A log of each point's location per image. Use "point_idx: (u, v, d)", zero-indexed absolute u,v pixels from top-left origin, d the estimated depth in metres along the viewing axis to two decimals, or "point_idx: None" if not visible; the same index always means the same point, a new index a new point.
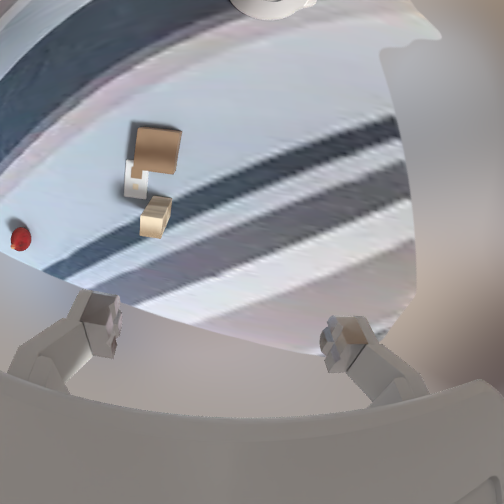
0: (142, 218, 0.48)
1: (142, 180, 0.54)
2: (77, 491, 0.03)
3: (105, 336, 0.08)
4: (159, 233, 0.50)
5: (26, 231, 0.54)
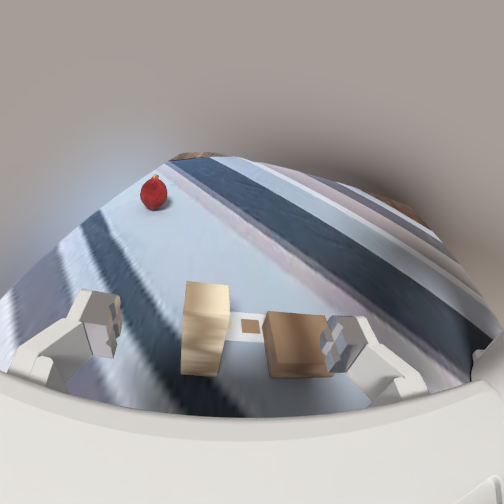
0: (223, 287, 0.27)
1: (240, 333, 0.36)
2: (77, 491, 0.03)
3: (105, 336, 0.08)
4: (195, 309, 0.24)
5: (161, 201, 0.57)
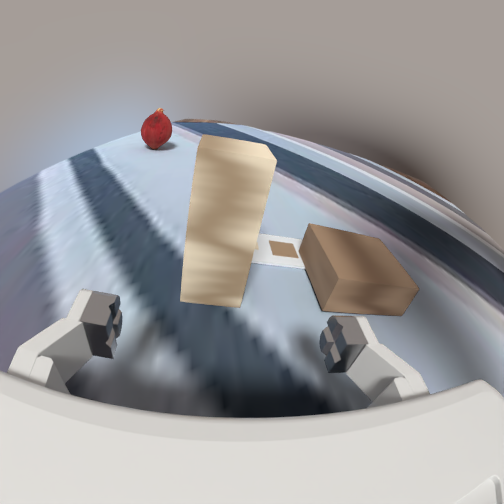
0: (258, 144, 0.17)
1: (270, 255, 0.25)
2: (77, 491, 0.03)
3: (105, 336, 0.08)
4: (218, 149, 0.14)
5: (164, 137, 0.47)
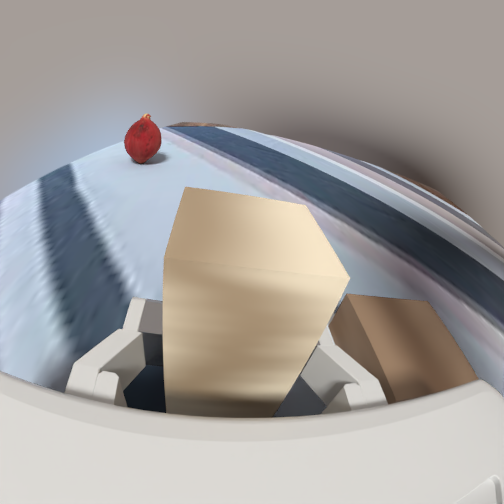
0: (293, 206, 0.09)
1: None
2: (77, 491, 0.03)
3: None
4: (215, 255, 0.06)
5: (152, 149, 0.39)
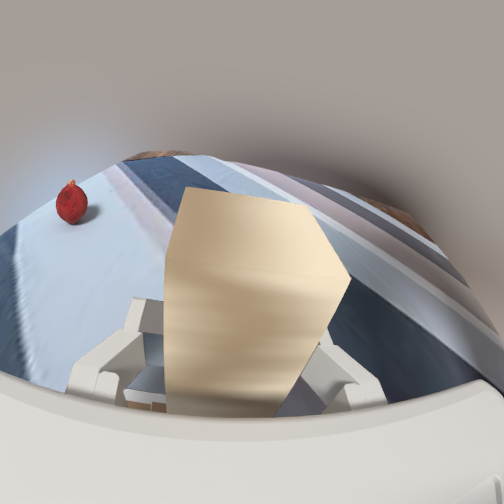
0: (294, 207, 0.09)
1: None
2: (77, 491, 0.03)
3: None
4: (216, 255, 0.06)
5: (77, 214, 0.40)
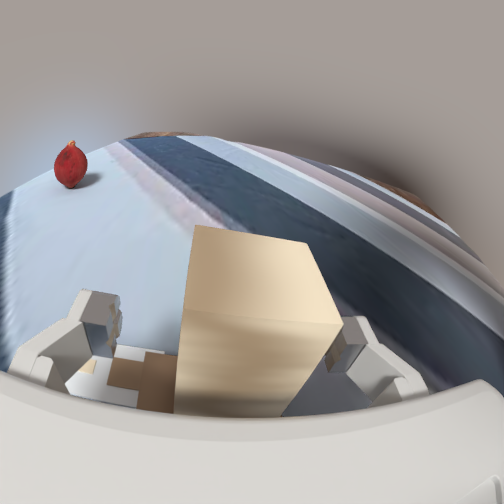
0: (295, 246, 0.10)
1: (103, 385, 0.16)
2: (77, 491, 0.03)
3: (105, 336, 0.08)
4: (228, 305, 0.07)
5: (75, 175, 0.37)
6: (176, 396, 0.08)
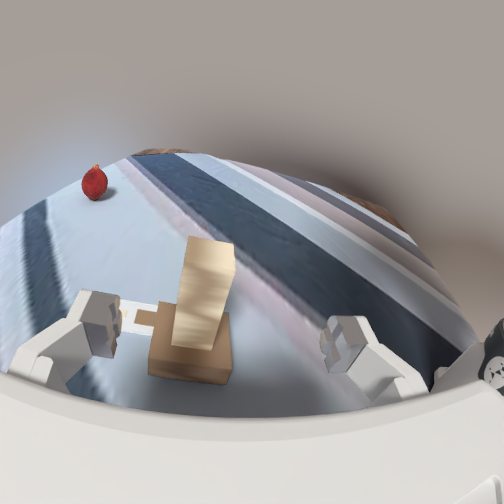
0: (227, 245, 0.25)
1: (131, 323, 0.31)
2: (77, 491, 0.03)
3: (105, 336, 0.08)
4: (197, 261, 0.22)
5: (99, 191, 0.52)
6: (178, 301, 0.24)
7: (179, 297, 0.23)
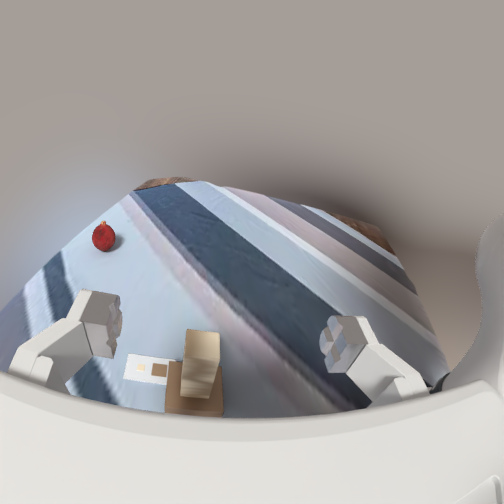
0: (215, 334, 0.34)
1: (149, 375, 0.40)
2: (77, 491, 0.03)
3: (105, 336, 0.08)
4: (193, 354, 0.31)
5: (109, 245, 0.61)
6: (182, 374, 0.32)
7: (183, 372, 0.32)
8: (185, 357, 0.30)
